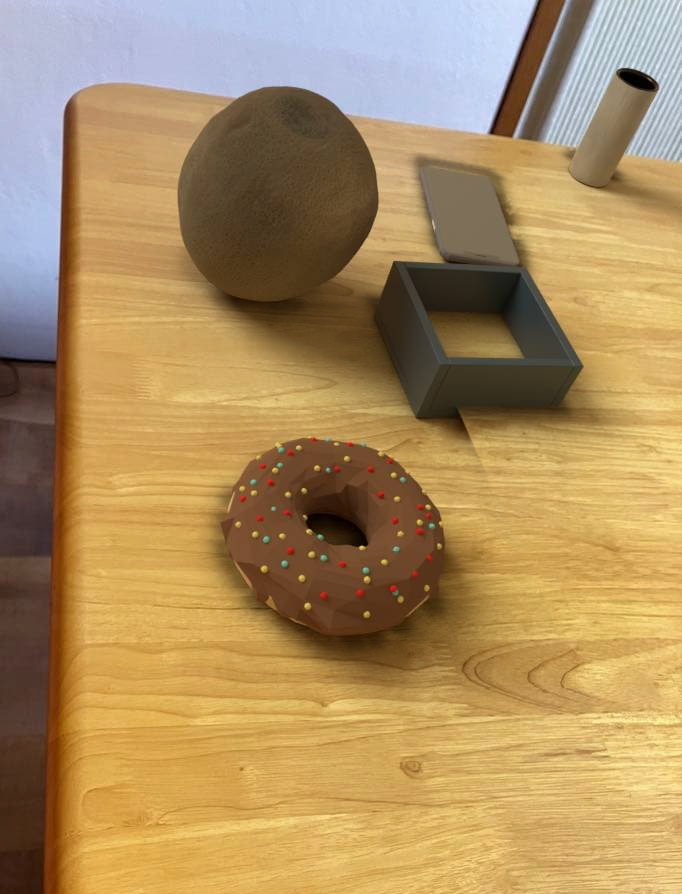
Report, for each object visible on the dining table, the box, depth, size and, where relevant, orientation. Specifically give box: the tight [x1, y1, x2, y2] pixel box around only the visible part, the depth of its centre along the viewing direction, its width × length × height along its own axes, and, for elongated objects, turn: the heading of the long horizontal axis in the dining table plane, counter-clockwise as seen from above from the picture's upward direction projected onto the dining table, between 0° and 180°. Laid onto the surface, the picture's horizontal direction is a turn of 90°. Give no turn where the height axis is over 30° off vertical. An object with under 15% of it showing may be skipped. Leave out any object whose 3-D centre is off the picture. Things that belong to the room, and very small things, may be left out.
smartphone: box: [419, 165, 521, 267], centre depth 83 cm, size 8×1×15 cm
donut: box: [219, 435, 446, 637], centre depth 53 cm, size 14×14×5 cm
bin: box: [373, 260, 585, 419], centre depth 68 cm, size 12×12×5 cm
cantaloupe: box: [176, 85, 380, 302], centre depth 65 cm, size 14×14×15 cm
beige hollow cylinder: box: [568, 67, 660, 188], centre depth 90 cm, size 4×4×10 cm
